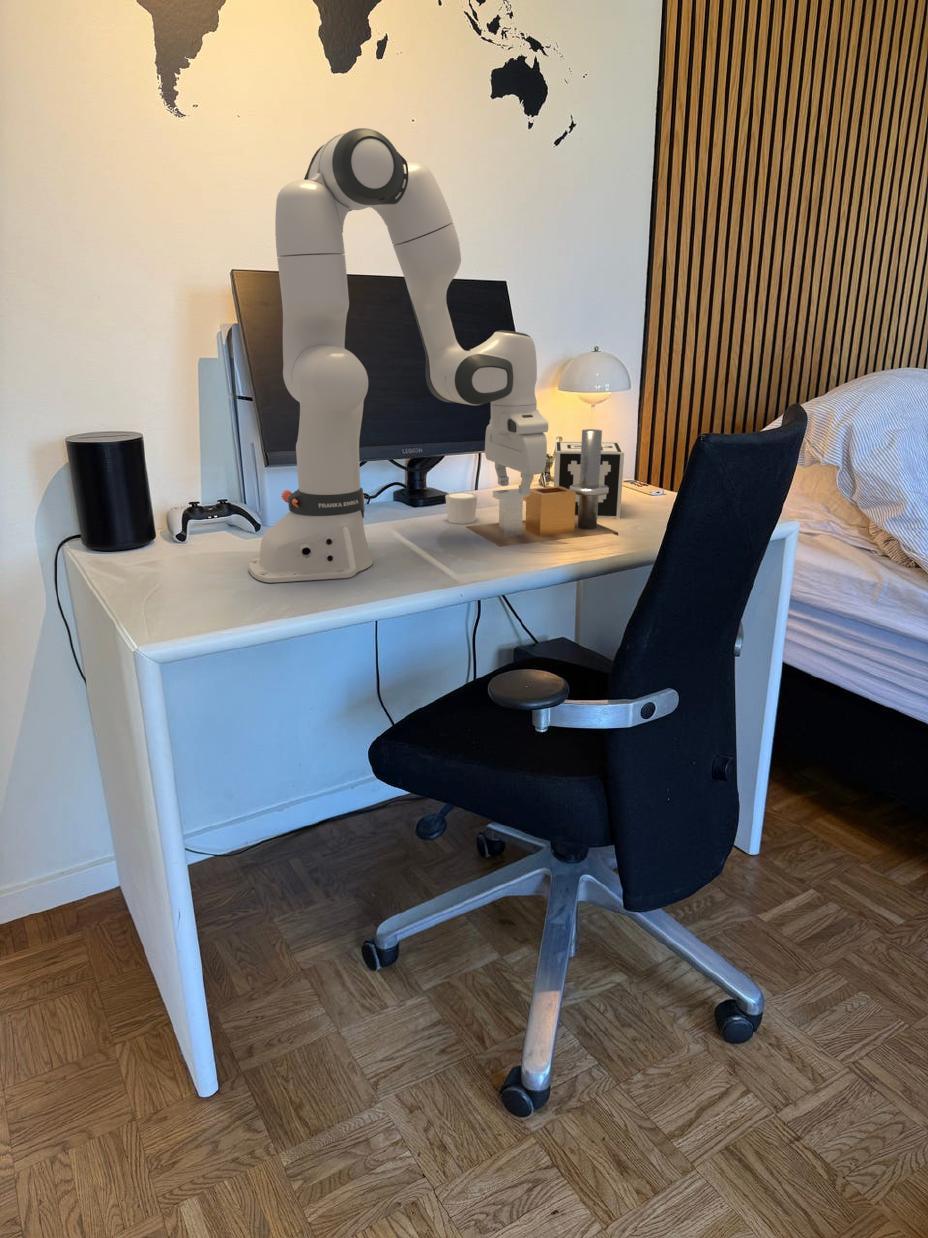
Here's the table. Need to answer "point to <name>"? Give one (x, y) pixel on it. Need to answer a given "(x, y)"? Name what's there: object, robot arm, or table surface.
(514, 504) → the wedge pin
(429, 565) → the table surface
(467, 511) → the white short cylinder
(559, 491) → the ringlock node
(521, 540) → the base board
